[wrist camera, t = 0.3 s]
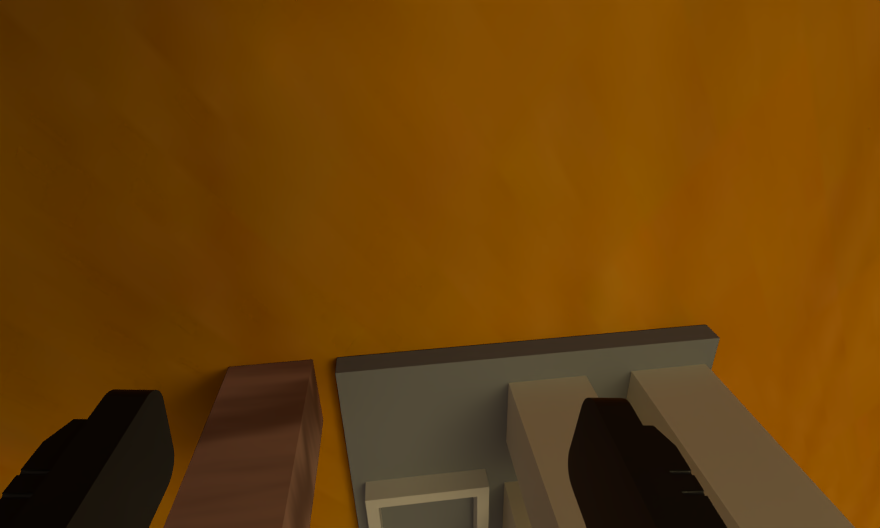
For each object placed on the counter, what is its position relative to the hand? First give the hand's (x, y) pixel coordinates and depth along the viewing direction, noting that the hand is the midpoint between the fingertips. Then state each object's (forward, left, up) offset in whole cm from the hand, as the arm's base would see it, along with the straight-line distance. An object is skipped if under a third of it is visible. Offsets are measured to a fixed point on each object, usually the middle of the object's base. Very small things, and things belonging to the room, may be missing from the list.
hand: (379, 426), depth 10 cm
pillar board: (+22, +9, -19) cm, 30 cm away
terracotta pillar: (+15, -7, -19) cm, 25 cm away
